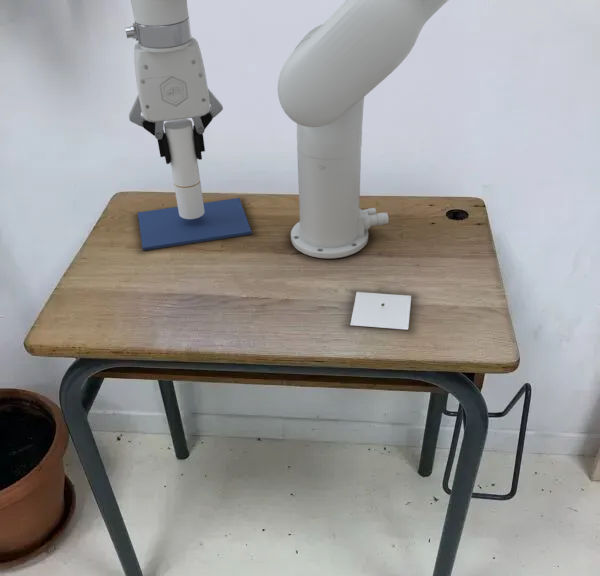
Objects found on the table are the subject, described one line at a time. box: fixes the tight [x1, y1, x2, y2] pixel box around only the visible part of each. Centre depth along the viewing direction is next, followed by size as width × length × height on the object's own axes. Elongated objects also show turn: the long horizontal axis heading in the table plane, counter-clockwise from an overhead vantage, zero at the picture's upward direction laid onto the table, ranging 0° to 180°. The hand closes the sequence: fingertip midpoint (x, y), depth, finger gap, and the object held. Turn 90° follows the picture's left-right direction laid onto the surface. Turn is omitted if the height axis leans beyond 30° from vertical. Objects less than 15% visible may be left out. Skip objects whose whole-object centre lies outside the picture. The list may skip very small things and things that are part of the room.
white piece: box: [350, 291, 412, 331], centre depth 98 cm, size 8×8×1 cm
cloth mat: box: [137, 197, 253, 251], centre depth 118 cm, size 18×12×1 cm, turn 103°
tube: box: [163, 118, 205, 219], centre depth 111 cm, size 4×4×15 cm
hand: (183, 157), depth 109 cm, fingers closed on tube, 4 cm apart
